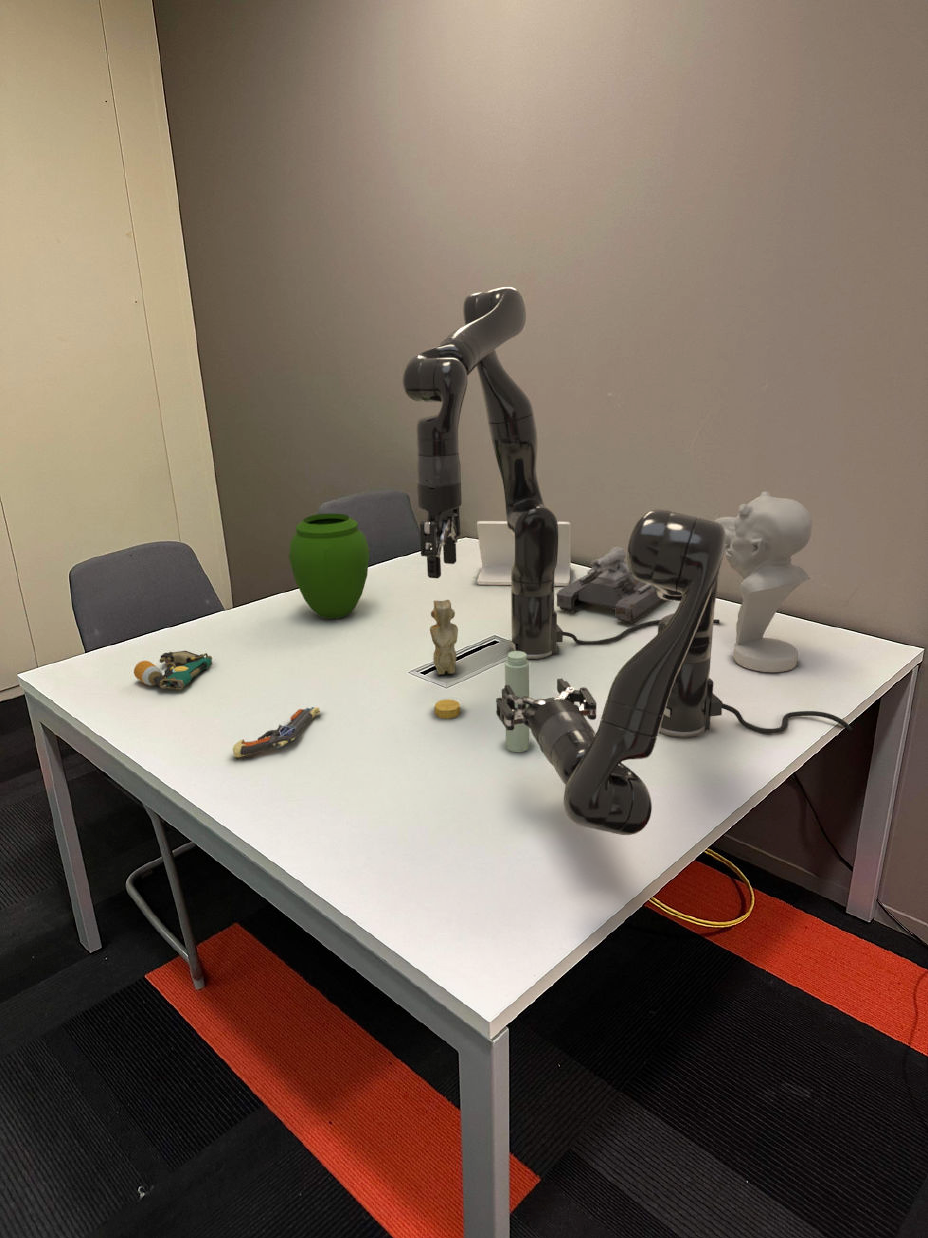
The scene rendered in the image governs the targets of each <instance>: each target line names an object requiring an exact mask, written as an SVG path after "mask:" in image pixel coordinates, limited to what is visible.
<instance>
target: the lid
mask: <svg viewBox="0 0 928 1238" xmlns="http://www.w3.org/2000/svg"><path fill="white" fill-rule="evenodd" d="M460 714H461V704H460V702H459V701H457V700H454V699H441V700H438V701H437V702H435V703H434V715H435V716H436V717H437V718H440V719H446V720H447V719H453V718H457V717H458V716H459V715H460Z"/></svg>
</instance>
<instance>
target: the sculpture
mask: <svg viewBox="0 0 928 1238" xmlns="http://www.w3.org/2000/svg"><path fill="white" fill-rule="evenodd" d="M455 615H456V611H455V609H453V608H452V602H451V601H450V599H445V600H433V610H431V612H430V617H431V618H432V619H433V620H434V621H435V622H436V623H435V624H433V625H431V626H429V633H430V636H431V640H432V641H431V642H432V643H433V645H434V648H435V649H434V652H433V656H432V657H433V659H432V660H433V665H434V667H435V668H436V671H437V674H438V675H445V674H446V672H447V673H448V674H455V673H456V666H457V665H456V663H457V652H456V649H455V644H456V643H457V642H458V637H459V635H458V634H459V627H458V626H457V624H455V623H453V622H451V621H452V620H453V619H454V618H455Z"/></svg>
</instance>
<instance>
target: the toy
mask: <svg viewBox="0 0 928 1238" xmlns="http://www.w3.org/2000/svg"><path fill="white" fill-rule="evenodd" d="M626 558H627V554H626V551H625V549H624V548H622V547H621V546H614V547H612V548H611V549H610V550H609V552H608V553H607V554H605V555H604V556H601V557H599V558H598V559H597V557H596V558H594V559H593V560H592V561H590V562H589V563H590V564H591V565H592V567H591V568H590V569H589V570H587V573H586V575H584V576H582V577H580V578H578V579H577V580H575V581H573V582H570V583H569V585H567V586H563V587H562V588H560V589H559V590H558V591H557V592H556V607H558V608H559V609H560V610H562V611H566V612H572V613H575V612H577V611H579V610H581V609H582V608H585V607H586V606H588V605H592V606H598V607H602V608H603V607H604V608H609V609H613V610H614V618H615V619H617V620H618V621H621V622H626V623H631V624H634V623H635V622H637V621H638V620H640V619H641V618H642V617H644V616H645V615H647V614H648V613H650V612H651V611H652V610H654V609H655V608H657V607H659V606H660V605H661V604H663V603H664V602H666V601H667V600H664V599H661V598H659V597H658V596H657V595H656V593H655V592H654V589H653V585H650V584H647V583H644V582H641V581H639V580H637V579H635V578H634V577H633V576H632V575H631V573H630V570H629V567H628V562H627V561H625V559H626Z"/></svg>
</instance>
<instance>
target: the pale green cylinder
mask: <svg viewBox="0 0 928 1238" xmlns="http://www.w3.org/2000/svg"><path fill="white" fill-rule="evenodd" d="M526 658H527V655H526V653H524V652H521V651H513V652H511V651H509V652H508V653H507V659H506V660H505V661H504V686H505V685H510V687H511V689H512V690H513V692H514V694H515V696H518V697H522V696H527V697H530V662H529V661H530V660H529V659H526ZM528 706H529V705H528V704H527V707H528ZM515 707H516V708H518V705H517V703H515ZM505 748H506V750H507V751H509V752H511V753H523V752H526V751H528V750H529V748H530V728H529V727H528V726H526V725H524V723H523V724H517V725H514V730H507V729H506V728H505Z"/></svg>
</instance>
